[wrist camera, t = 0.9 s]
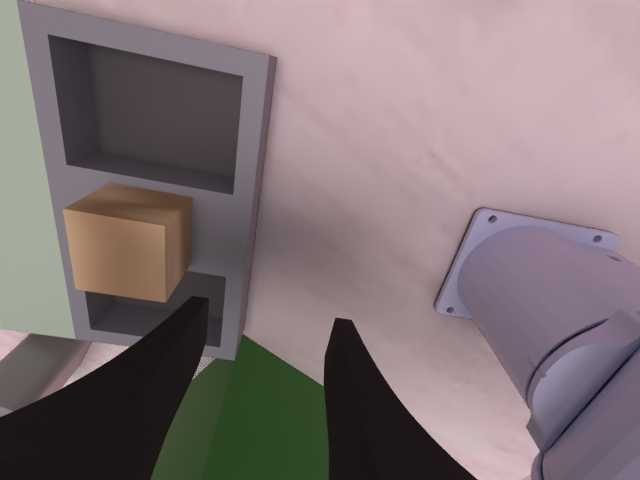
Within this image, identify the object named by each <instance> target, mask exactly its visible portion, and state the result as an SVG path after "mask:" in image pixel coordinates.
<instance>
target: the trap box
mask: <svg viewBox="0 0 640 480" xmlns="http://www.w3.org/2000/svg"><path fill="white" fill-rule="evenodd" d="M276 61H277V57H273V56H269V55H265V54H260V53H256V52H251V51H247V50H243V49H238V48H234V47H229V46H225V45H220V44H216V43H211V42H207V41H202V40H198V39H193V38H189V37H184V36H180V35H175V34H171V33H166V32H162V31H157V30H153V29H148V28H144V27H139V26H135V25H130V24H126V23H121V22H117V21H112V20H108V19H103V18H99V17H94V16H90V15H85V14H81V13H76V12H72V11H67V10H63V9H58V8H54V7H49V6H45V5H40V4H36V3H31V2H27V1H22V0H0V329H4V330H11V331H19V332H26V333H34V334H41V335H48V336H56V337H63V338H70V339H78V340H85V341H93V342H100V343H107V344H115V345H122V346H130V347H131V346H132V345H133V344H135V343H136V342H137V341H139V340H140V339H141V338H143V337H144V336H145V335H147V334H148V333H149V332H150V331H152V330H153V329H154V328H155V327H157V326H158V325H159V324H160V323H161V322H163V321H164V320H165V319H166V318H167V317H169V316H170V315H171V314H172V313H173V312H174V311H175V310H176V309H178V308H179V307H180V306H181V305H182V304H183V303H184V302H185V301H186V300H187V299H189V298H190V297H191V296H197V297H203V298H209V311H208V328H207V341H206V344H205V347H204V350H203V353H202V356H203V357H211V358H218V359H226V360H233V361H235V358H236V354H237V351H238V347H239V344H240V340H241V337H242V333H243V330H244V322H245V314H246V306H247V297H248V289H249V281H250V273H251V265H252V257H253V249H254V240H255V232H256V224H257V216H258V208H259V200H260V191H261V183H262V175H263V167H264V159H265V151H266V143H267V134H268V126H269V118H270V110H271V102H272V94H273V86H274V77H275V69H276ZM110 182H111V183H116V184H122V185H127V186H133V187H139V188H144V189H150V190H155V191H161V192H167V193H172V194H178V195H183V196H189V197H193V204H192V240H191V264H190V266H189V267H188V269H187V271H186V272H185V274H184V275H183V277H182V278H181V280H180V281H179V283H178V284H177V286H176V288H175V289H174V291H173V292H172V294H171V295H170V297H169V298H168V300H167V301H166V303H164V302H157V301H151V300H144V299H137V298H130V297H124V296H117V295H110V294H104V293H97V292H90V291H83V290H77V289H75V283H74V277H73V270H72V264H71V258H70V252H69V245H68V239H67V233H66V227H65V220H64V214H63V208H65V207H67V206H69V205H70V204H72V203H74V202H76V201H78V200H80V199H81V198H83V197H85V196H87V195H89V194H90V193H92V192H94V191H96V190H98V189H99V188H101V187H103V186H105V185H107V184H109V183H110Z"/></svg>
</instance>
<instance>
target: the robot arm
mask: <svg viewBox="0 0 640 480" xmlns="http://www.w3.org/2000/svg"><path fill="white" fill-rule="evenodd" d="M492 215H494V218H493V219H492V220H490V221H488V219H489V217H490V216H492ZM595 236H597V237H596V238H595V239H593V238H594V237H595ZM619 240H620V237H619V236H618V235H617V234H615V233H613V232H608V231H603V230H597V229H592V228H587V227H582V226H576V225H571V224H566V223H561V222H555V221H550V220H545V219H540V218H535V217H529V216H524V215H519V214H514V213H508V212H503V211H498V210H493V209H487V208H482V209H479V210H478V211H476V213H475V215H474V217H473V219H472V221H471V224H470V226H469V228H468V231H467V233H466V235H465V237H464V240H463V242H462V244H461V247H460V249H459V251H458V253H457V256H456V258H455V260H454V262H453V265H452V267H451V269H450V272H449V274H448V276H447V278H446V281H445V283H444V285H443V288H442V290H441V292H440V294H439V297H438V299H437V301H436V304H435V310H436V312H437V313H439V314H443V315H449V316H456V317H462V318H468V319H474V321H475V323H476V324H477V326H478V327H479V329H480V331H481V332H482V334H483V335H484V337H485V339H486V340H487V342H488V344H489V345H490V347H491V348H492V350H493V352H494V353H495V355H496V356H497V358H498V360H499V361H500V363H501V364H502V366H503V368H504V369H505V371H506V372H507V374H508V376H509V377H510V379H511V380H512V382H513V384H514V385H515V387H516V389H517V390H518V392H519V393H520V395H521V397H522V398H523V400H524V401H525V403H526V405H527V406H528V408H529V409H530V412H531V418H530V421H529V422H528V424H527V425H526V428H527V429H528V431H529V433H530V435H531V436H532V438H533V440H534V441H535V443H536V445H537V447H538V448H539V450H540V452H539V453H538V455H537V456H536V457H535V459H534V462H533V464H532V469H531V480H640V267H638V266H636V265H635V264H633V263H631V262H630V261H628V260H627V259H625V258H623V257H622V256H620V255H618V254H617V253H615V252H614V251H613V250H614V249H615V247H616V246H617V244H618V243H619ZM449 307H451V308H450V309H447V308H449ZM208 311H209V298H203V297H197V296H191V297H190V298H189V299H187V300H186V301H185V302H184V303H183V304H182V305H181V306H180V307H179V308H178V309H176V310H175V311H174V312H173V313H172V314H171V315H170V316H169V317H167V318H166V319H165V320H164V321H163V322H161V323H160V324H159V325H158V326H157V327H155V328H154V329H153V330H152V331H150V332H149V333H148V334H147V335H145V336H144V337H143V338H141V339H140V340H139V341H137V342H136V343H135V344H133V345H132V346H131V347H129V348H128V349H126V350H125V351H124V352H122V353H121V354H119V355H118V356H116V357H115V358H113V359H112V360H110V361H109V362H107V363H105V364H104V365H102V366H101V367H99V368H97V369H96V370H94V371H92V372H91V373H89V374H87V375H85V376H84V377H82V378H80V379H78V380H76V381H75V382H73V383H71V384H69V385H67V386H66V387H64V388H62V389H60V390H58V391H56V392H54V393H52V394H50V395H48V396H46V397H44V398H42V399H40V400H37V401H35V402H33V403H31V404H29V405H27V406H25V407H22V408H20V409H18V410H16V411H13V412H11V413H9V414H6V415H4V416H1V417H0V480H150V479H151V476H152V474H153V471H154V468H155V465H156V462H157V460H158V457H159V454H160V451H161V448H162V446H163V443H164V440H165V437H166V435H167V433H168V430H169V428H170V426H171V423H172V421H173V419H174V417H175V415H176V413H177V410H178V408H179V406H180V404H181V402H182V400H183V398H184V395H185V393H186V391H187V389H188V387H189V385H190V383H191V380H192V378H193V376H194V374H195V372H196V370H197V367H198V365H199V362H200V359H201V356H202V353H203V350H204V347H205V344H206V341H207V328H208ZM324 392H325V405H326V418H327V431H328V444H329V480H477V479H476V478H475V477H474V476H473V475H472V474H470V473H469V472H468V471H467V470H466V469H465V468H463V467H462V466H461V465H460V464H459V463H458V462H457V461H455V460H454V459H453V458H452V457H451V456H450V455H449V454H448V453H447V452H446V451H445V450H444V449H443V448H442V447H441V446H440V445H439V444H438V443H437V442H436V441H435V440H434V439H433V438H432V437H431V436H430V435H429V434H428V433H427V432H426V430H425V429H424V428H423V427H422V426H421V425H420V424H419V423H418V422H417V421H416V420H415V418H414V417H413V416H412V415H411V414H410V413H409V411H408V410H407V409H406V408H405V406H404V405H403V404H402V403H401V401H400V400H399V399H398V397H397V396H396V395H395V393H394V392H393V390H392V389H391V388H390V386H389V385H388V383H387V382H386V380H385V379H384V377H383V376H382V374H381V372H380V371H379V369H378V368H377V366H376V364H375V363H374V361H373V359H372V358H371V356H370V354H369V352H368V351H367V349H366V347H365V345H364V343H363V341H362V339H361V337H360V335H359V334H358V332H357V329H356V327H355V325H354V323H353V322H352V320H348V319H342V318H335V322H334V325H333V329H332V332H331V336H330V339H329V343H328V347H327V350H326V354H325V362H324Z"/></svg>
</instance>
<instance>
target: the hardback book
mask: <svg viewBox="0 0 640 480" xmlns="http://www.w3.org/2000/svg"><path fill="white" fill-rule="evenodd" d="M150 480H329V444H328V431H327V418H326V405H325V392H324V387H323V386H322V385H320V384H319V383H317V382H316V381H314V380H313V379H311V378H310V377H308V376H306V375H305V374H303V373H302V372H300V371H299V370H297V369H296V368H294V367H293V366H291V365H289V364H288V363H286V362H285V361H283V360H282V359H280V358H279V357H277V356H275V355H274V354H272V353H271V352H269V351H268V350H266V349H265V348H263V347H262V346H260V345H258V344H257V343H255V342H254V341H252V340H251V339H249V338H248V337H246V336H244V335H243V334H242V337H241V340H240V344H239V347H238V351H237V354H236V358H235V361H233V360H226V359H218V358H216V359H215V360H214V361H212V362H211V363H210V364H209V365H208V366H207V367H206V368H205V369H204V370H203V371H202V372H201V373H199V374H198V375H197V376H196V377H195V378H194V379H193V380H192V381H191V383H190V385H189V387H188V389H187V391H186V393H185V395H184V398H183V400H182V402H181V404H180V406H179V408H178V410H177V413H176V415H175V417H174V419H173V421H172V423H171V426H170V428H169V430H168V433H167V435H166V438H165V440H164V443H163V446H162V448H161V451H160V454H159V457H158V460H157V462H156V465H155V468H154V471H153V474H152V476H151V479H150Z"/></svg>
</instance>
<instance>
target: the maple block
mask: <svg viewBox="0 0 640 480" xmlns="http://www.w3.org/2000/svg"><path fill="white" fill-rule="evenodd" d="M192 204H193V197H189V196H183V195H178V194H172V193H167V192H161V191H155V190H150V189H144V188H139V187H133V186H127V185H122V184H116V183H111V182H110V183H109V184H107V185H105V186H103V187H101V188H99V189H98V190H96V191H94V192H92V193H90V194H89V195H87V196H85V197H83V198H81V199H80V200H78V201H76V202H74V203H72V204H70V205H69V206H67V207H65V208H63V214H64V220H65V227H66V233H67V239H68V245H69V252H70V258H71V264H72V270H73V277H74V283H75V289H77V290H83V291H90V292H97V293H104V294H110V295H117V296H124V297H130V298H137V299H144V300H151V301H157V302H164V303H166V301H167V300H168V298H169V297H170V295H171V294H172V292H173V291H174V289H175V288H176V286H177V284H178V283H179V281H180V280H181V278H182V277H183V275H184V274H185V272H186V271H187V269H188V267H189V266H190V264H191V240H192Z"/></svg>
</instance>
